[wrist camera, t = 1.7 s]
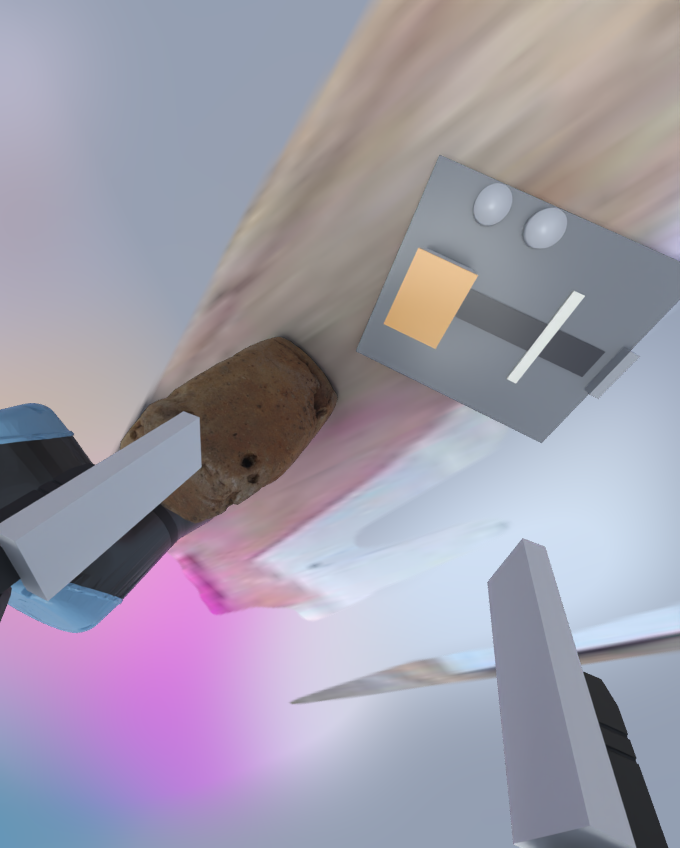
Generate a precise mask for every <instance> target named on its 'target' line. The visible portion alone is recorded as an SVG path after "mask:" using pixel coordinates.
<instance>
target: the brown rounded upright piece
mask: <svg viewBox="0 0 680 848" xmlns="http://www.w3.org/2000/svg"><path fill="white" fill-rule="evenodd" d="M336 402H337V395H336V393H335V392H334V390H333V389H332V387H331V385H330V383H329V381H328V380H327V378H326V376H325V374H324V373H323V372H322V371H321V369H320V368H319V367H318V366H317V365H316V364H315V363H314V361H313V360H312V359H311V358H310V357H309V356H308V355H307V354H306V353H305V352H303V351H302V350H301V349H300V348H299V347H297V346H295V345H294V344H293V343H292V342H290V341H289V340H287V339H284V338H281V337H275V338H271V339H267V340H264V341H261V342H258V343H256V344H254V345H252V346H249V347H247V348H245V349H244V350H242V351H240V352H238V353H237V354H235V355H234V356H233V357H231V358H228V359H226V360H224V361H222V362H220V363H218V364H216V365H214V366H213V367H211V368H209V369H208V370H206V371H204V372H203V373H201V374H199V375H197V376H196V377H194V378H192V379H191V380H189V381H188V382H186V383H185V384H183V385H182V386H180V387H178V388H177V389H175V390H174V391H173V392H172V393H171V394H170V395H169V396H168V397H167V398H165V399H161V400H158V401H156V402H154V403H152V404H150V405H149V406H148V407H147V408H146V410H145V411H144V412H143V413H142V415H141V417H140V418H139V419H138V420H137V421H136V422H135V424H134V425H133V426H132V427H131V428H130V430H129V431H128V432H127V434H126V435H125V436H124V438H123V439H122V441H121V444H120V450H121V449H123V448H124V447H126V446H128V445H129V444H131V443H133V442H134V441H136V440H137V439H139V438H141V437H142V436H144V435H146V434H147V433H149V432H151V431H152V430H154V429H156V428H157V427H159V426H160V425H162V424H164V423H165V422H167V421H169V420H170V419H172V418H174V417H175V416H177V415H178V414H180V413H182V412H183V411H184V412H187V413H189V414H192V415H195V416H197V417H199V418H200V442H201V465H202V467H201V468H200V469H199V470H198V471H197V472H195V473H194V474H193V475H192V476H191V477H190V478H189V479H187V480H186V481H185V482H184V483H183V484H182V485H181V486H179V487H178V488H177V489H176V490H175V491H174V492H173V493H171V494H170V495H169V496H168V497H167V498H166V499H165V500H163V501H162V502H161V504H162V505H163V506H164V507H165V508H167V509H169V510H170V511H172V512H174V513H176V514H178V515H179V516H181V517H182V518H184V519H186V520H188V521H190V522H192V523H199V522H202V521H204V520H206V519H211V518H213V517H215V516H217V515H219V514H222V513H223V512H224V511H226V509H227V507H228V506H230V505H232V504H237V505H238V504H240V503H241V502H243V501H244V500H246V499H247V498H249V497H250V496H252V495H253V494H254V493H256V492H257V491H259V490H260V489H261V488H262V487H264V486H266V485H268V484H270V483H272V482H274V481H275V480H277V479H278V478H279V477H280V476H281V475H283V474H284V473H285V472H286V470H287V469H288V468H289V467H290V466H291V465H292V464H293V463H294V462H295V460H296V459H297V458H298V457H299V455H300V454H301V453H302V451H303V450H304V449H305V448H306V447H307V446H308V444H309V443H310V442H311V440H312V439H313V438H314V437H315V435H316V434H317V433H318V431H319V430H320V429H321V427H322V426H323V425H324V423H325V422H326V421H327V419H328V418H329V416H330V415H331V413H332V411H333V409H334V407H335V405H336Z"/></svg>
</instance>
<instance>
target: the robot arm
mask: <svg viewBox="0 0 680 848" xmlns="http://www.w3.org/2000/svg"><path fill="white" fill-rule="evenodd" d="M73 435H74V433H73V432H72V431H69V430H68V429H67V428H66V426H65V425H64V424H63V423H62V422H61V420H60V419H59V418H58V417H57V415H56V414H55V413H54V412H53V411H52V410H51V409H50V408H48V407H46V406H44V405H41V404H36V403H28V404H22V405H18V406H14V407H10V408H5V409H1V410H0V621H1V619H2V616H3V614H4V611H5V609H6V606H7V604H8V605H10V606H12V607H13V608H15V609H17V610H18V611H20V612H22V613H24V614H26V615H28V616H30V617H31V618H34V619H35V620H37V621H40V622H42V623H44V624H47V625H49V626H51V627H54V628H57V629H60V630H63V631H67V632H72V633H78V632H84V631H87V630H90V629H92V628H93V627H95V626H96V625H97V624H98V623H99V622H100V621H101V620H103V618H105V617H106V616H107V615H108V614H109V613H110V612H111V611H112V610H113V609H114V608H115V607H116V606H117V605H119V604H120V603H122V601H123V599H124V597H126V595H127V594H128V593H129V592H130V591H131V590H132V589H133V588H134V587H135V586H136V585H137V583H138V582H139V581H140V580H141V579H142V578H143V577H144V576H145V575H146V574H147V573H148V572H149V570H150V569H151V568H152V567H153V566H154V565H155V564H156V563H157V562H158V561H159V560H160V559H161V557H162V556H163V555H164V554H165V553H166V552H167V551H168V550H169V549H170V548H171V547H172V546H173V545H174V543H175V542H176V541H177V540H178V539H180V538H181V537H183V536H185V535H186V534H188V533H190V532H192V531H193V530H195V529H197V528H198V527H200V526H202V525H204V524H205V523H207V522H209V521H210V520H211V519H213V518H214V517H213V518H211V519H206V520H204V521H202V522H199V523H192V522H190V521H188V520H186V519H184V518H182V517H181V516H179V515H178V514H176V513H174V512H172V511H170V510H169V509H167V508H165V507H164V506H163V505H162V504H161V502H162V501H163V500H165V499H166V498H167V497H168V496H169V495H170V494H171V493H173V492H174V491H175V490H176V489H177V488H178V487H179V486H181V485H182V484H183V483H184V482H185V481H186V480H187V479H189V478H190V477H191V476H192V475H193V474H194V473H195V472H197V471H198V470H199V469H200V468H201V467H202V465H201V442H200V418H199V417H197V416H195V415H192V414H189V413H187V412H184V411H183V412H182V413H180V414H178V415H177V416H175V417H174V418H172V419H170V420H169V421H167V422H165V423H164V424H162V425H160V426H159V427H157V428H156V429H154V430H152V431H151V432H149V433H147V434H146V435H144V436H142V437H141V438H139V439H137V440H136V441H134V442H133V443H131V444H129V445H128V446H126V447H124V448H123V449H121V450H119V451H118V452H116V453H115V454H113V455H111V456H110V457H108V458H107V459H105V460H103V461H102V462H100V463H98V464H96V465H94V464H93V463H92V462H91V461H90V459H89V458H88V456H87V455H86V454H85V453H84V451H83V450H82V448H81V447H80V445H79V444H78V442H77V441H76V440H75V438H74V437H73ZM488 592H489V602H490V613H491V622H492V633H493V643H494V653H495V663H496V674H497V683H498V692H499V693H498V694H499V704H500V714H501V724H502V733H503V744H504V754H505V765H506V775H507V785H508V794H509V804H510V815H511V825H512V835H513V844H515V845H516V846H518V847H520V848H668V846H667V843H666V840H665V837H664V834H663V831H662V829H661V826H660V823H659V820H658V817H657V815H656V812H655V809H654V806H653V803H652V801H651V798H650V795H649V792H648V789H647V786H646V784H645V781H644V778H643V775H642V772H641V770H640V767H639V764H637V763H636V756H635V753H634V750H633V747H632V745H631V742H630V740H629V739H628V738H627V735H628V733H627V730H626V727H625V725H624V722H623V719H622V716H621V714H620V711H619V708H618V706H617V704H616V702H615V701H614V699H613V697H612V696H611V694H610V693H609V691H608V689H607V688H606V686H605V684H604V683H603V682H602V680H601V679H599V678H597V677H595V676H592V675H590V674H588V673H585V672H583V670H582V667H581V663H580V660H579V657H578V654H577V650H576V647H575V644H574V640H573V637H572V634H571V630H570V627H569V624H568V621H567V617H566V614H565V611H564V607H563V604H562V601H561V597H560V594H559V591H558V587H557V584H556V581H555V578H554V574H553V571H552V568H551V565H550V561H549V558H548V555H547V551H546V548H545V547H544V546H542V545H539V544H536V543H534V542H531V541H529V540H526V539H522V540H521V541H520V542H519V543H518V545H517V546H516V547H515V549H514V550H513V551H512V552H511V553H510V555H509V556H508V557H507V558H506V560H505V561H504V562H503V563H502V565H501V566H500V567H499V568H498V570H497V571H496V572H495V573H494V574H493V576H492V577H491V578H490V579H489V581H488Z"/></svg>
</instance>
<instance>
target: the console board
mask: <svg viewBox="0 0 680 848" xmlns="http://www.w3.org/2000/svg"><path fill="white" fill-rule="evenodd" d="M418 248H428V249H430V250H432V251H434V252H437V253H439V254H441V255H443V256H445V257H447V258H449V259H452V260H454V261H456V262H458V263H460V264H462V265H465V266H467V267H469V268H471V269H472V270H473V271H474V272H475V273H476V274H477V275H478V277H477V278H476V280H475V282H474V284H473V285H472V287H471V289H470V290H469V292H468V294H467V296H466V297H465V299H464V301H463V302H462V304H461V306H460V308H459V309H458V311H457V313H456V315H455V316H454V318H453V320H452V321H451V323H450V325H449V327H448V328H447V330H446V332H445V333H444V335H443V337H442V339H441V340H440V342H439V344H438V346H437V347H436V349H434V348H432V347H430V346H428V345H426V344H424V343H422V342H420V341H418V340H416V339H414V338H412V337H409V336H407V335H405V334H403V333H401V332H399V331H397V330H395V329H393V328H391V327H389V326H387V325H385V324H384V322H385V320H386V317H387V315H388V313H389V311H390V309H391V306H392V304H393V302H394V300H395V298H396V296H397V293H398V291H399V289H400V287H401V285H402V282H403V280H404V278H405V276H406V274H407V271H408V269H409V267H410V265H411V263H412V261H413V258H414V256H415V254H416V252H417V250H418ZM679 300H680V261H677V260H675V259H673V258H671V257H668V256H666V255H664V254H662V253H659V252H657V251H655V250H653V249H650V248H648V247H646V246H644V245H641V244H639V243H637V242H635V241H632V240H630V239H628V238H626V237H623V236H621V235H619V234H617V233H614V232H612V231H610V230H608V229H605V228H603V227H601V226H599V225H596V224H594V223H592V222H590V221H587V220H585V219H583V218H581V217H578V216H576V215H574V214H572V213H569V212H567V211H565V210H563V209H560V208H558V207H556V206H554V205H551V204H549V203H547V202H545V201H542V200H540V199H538V198H536V197H533V196H531V195H529V194H527V193H524V192H522V191H520V190H518V189H515V188H513V187H511V186H509V185H507V184H504V183H502V182H500V181H498V180H495V179H493V178H491V177H489V176H486V175H484V174H482V173H480V172H477V171H475V170H473V169H471V168H468V167H466V166H464V165H462V164H459V163H457V162H455V161H453V160H450V159H448V158H446V157H444V156H441V155H439V158H438V160H437V162H436V165H435V167H434V169H433V172H432V174H431V176H430V179H429V181H428V183H427V186H426V188H425V190H424V193H423V195H422V197H421V200H420V202H419V205H418V207H417V209H416V212H415V214H414V216H413V219H412V221H411V223H410V226H409V228H408V230H407V233H406V235H405V237H404V240H403V242H402V244H401V247H400V249H399V251H398V254H397V256H396V258H395V261H394V263H393V265H392V268H391V270H390V272H389V275H388V277H387V279H386V282H385V284H384V286H383V289H382V291H381V293H380V296H379V298H378V300H377V303H376V305H375V307H374V310H373V312H372V314H371V317H370V319H369V321H368V324H367V326H366V328H365V331H364V333H363V335H362V338H361V340H360V342H359V345H358V347H357V349H356V352H358V353H360V354H362V355H365V356H367V357H369V358H371V359H373V360H375V361H377V362H379V363H381V364H383V365H385V366H387V367H389V368H391V369H393V370H395V371H397V372H399V373H401V374H403V375H405V376H407V377H409V378H411V379H413V380H415V381H417V382H419V383H421V384H423V385H425V386H427V387H429V388H431V389H433V390H435V391H437V392H439V393H441V394H443V395H445V396H447V397H449V398H451V399H453V400H455V401H458V402H460V403H462V404H464V405H466V406H468V407H470V408H472V409H474V410H476V411H478V412H480V413H482V414H484V415H486V416H488V417H490V418H492V419H494V420H496V421H498V422H500V423H502V424H504V425H506V426H508V427H510V428H512V429H514V430H516V431H518V432H520V433H522V434H524V435H526V436H528V437H530V438H532V439H534V440H536V441H538V442H540V443H542V442H543V441H544V440H545V439H546V438H547V437H548V436H549V435H550V434H551V433H552V432H553V431H554V430H555V429H556V428H557V427H558V426H559V424H560V423H561V422H562V421H563V420H564V419H565V418H566V417H567V416H568V415H569V414H570V413H571V412H572V411H573V410H574V409H575V408H576V407H577V406H578V405H579V404H580V403H581V402H582V401H583V400H584V398H585V397H586V396H587V395H588V394H589V395H591V396H593V397H595V398H599V397H600V396H601V395H602V394H603V393H604V392H605V391H606V390H607V389H608V388H609V387H610V386H611V385H612V384H613V383H614V382H615V381H616V380H617V379H618V378H619V377H620V376H621V375H622V374H623V373H624V372H625V371H626V370H627V369H628V368H629V367H630V366H631V365H632V364H633V363H634V362H635V361H636V360H637V359H638V358H639V357H640V356H639V355H637V354H636V353H634V352H632V351H631V350H632V349H633V348H634V346H636V344H637V343H638V342H639V341H640V340H641V339H642V338H643V337H644V336H645V335H646V334H647V333H648V332H649V331H650V330H651V329H652V328H653V327H654V326H655V325H656V324H657V323H658V322H659V321H660V320H661V319H662V318H663V317H664V315H665V314H666V313H667V312H668V311H669V310H670V309H671V308H672V307H673V306H674V305H675V304H676V303H677V302H678V301H679Z"/></svg>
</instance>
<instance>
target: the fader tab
mask: <svg viewBox="0 0 680 848" xmlns="http://www.w3.org/2000/svg"><path fill="white" fill-rule="evenodd" d="M477 277H478V275H477V274H476V273H475V272H474V271H473V270H472V269H471V268H469V267H467V266H465V265H462V264H460V263H458V262H456V261H454V260H452V259H449V258H447V257H445V256H443V255H441V254H439V253H437V252H434V251H432V250H430V249H428V248H418V250H417V252H416V254H415V256H414V258H413V261H412V263H411V265H410V267H409V269H408V271H407V274H406V276H405V278H404V280H403V282H402V285H401V287H400V289H399V291H398V293H397V296H396V298H395V300H394V302H393V304H392V306H391V309H390V311H389V313H388V315H387V317H386V320H385V322H384V324H385V325H387V326H389V327H391V328H393V329H395V330H397V331H399V332H401V333H403V334H405V335H407V336H409V337H412V338H414V339H416V340H418V341H420V342H422V343H424V344H426V345H428V346H430V347H432V348H434V349H436V347H437V346H438V344H439V342H440V340H441V339H442V337H443V335H444V333H445V332H446V330H447V328H448V327H449V325H450V323H451V321H452V320H453V318H454V316H455V315H456V313H457V311H458V309H459V308H460V306H461V304H462V302H463V301H464V299H465V297H466V296H467V294H468V292H469V290H470V289H471V287H472V285H473V284H474V282H475V280H476V278H477Z"/></svg>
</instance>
